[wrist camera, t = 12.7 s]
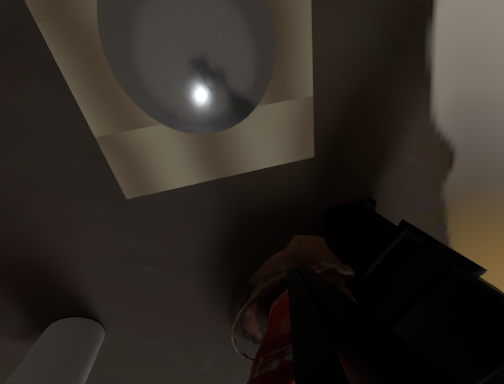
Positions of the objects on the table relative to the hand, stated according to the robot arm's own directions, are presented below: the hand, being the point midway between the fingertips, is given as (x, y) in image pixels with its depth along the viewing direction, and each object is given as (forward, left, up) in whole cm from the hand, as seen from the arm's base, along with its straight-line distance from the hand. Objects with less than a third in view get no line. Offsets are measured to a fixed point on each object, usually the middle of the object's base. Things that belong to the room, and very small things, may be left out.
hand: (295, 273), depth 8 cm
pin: (+2, -9, -13) cm, 16 cm away
